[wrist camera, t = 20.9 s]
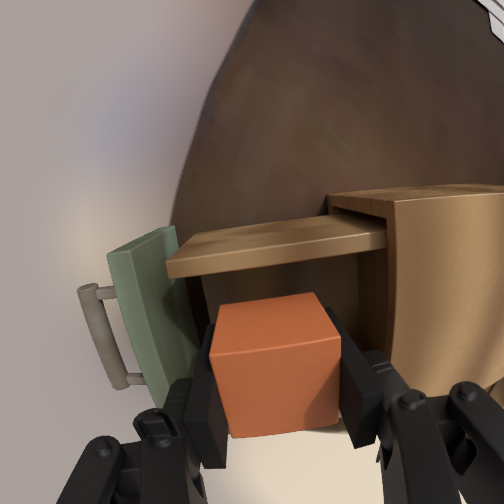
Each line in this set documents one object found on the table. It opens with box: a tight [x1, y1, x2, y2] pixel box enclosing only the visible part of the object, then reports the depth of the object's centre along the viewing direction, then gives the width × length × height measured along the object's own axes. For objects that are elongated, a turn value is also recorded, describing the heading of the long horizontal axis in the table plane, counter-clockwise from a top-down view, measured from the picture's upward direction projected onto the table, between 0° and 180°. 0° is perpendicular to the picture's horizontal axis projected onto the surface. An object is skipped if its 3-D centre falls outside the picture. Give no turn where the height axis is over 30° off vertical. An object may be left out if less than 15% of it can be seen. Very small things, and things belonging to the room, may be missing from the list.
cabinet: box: [327, 184, 504, 397], centre depth 16 cm, size 15×13×10 cm
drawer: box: [77, 212, 388, 434], centre depth 16 cm, size 18×11×8 cm, turn 98°
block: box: [209, 292, 341, 438], centre depth 12 cm, size 4×4×4 cm
